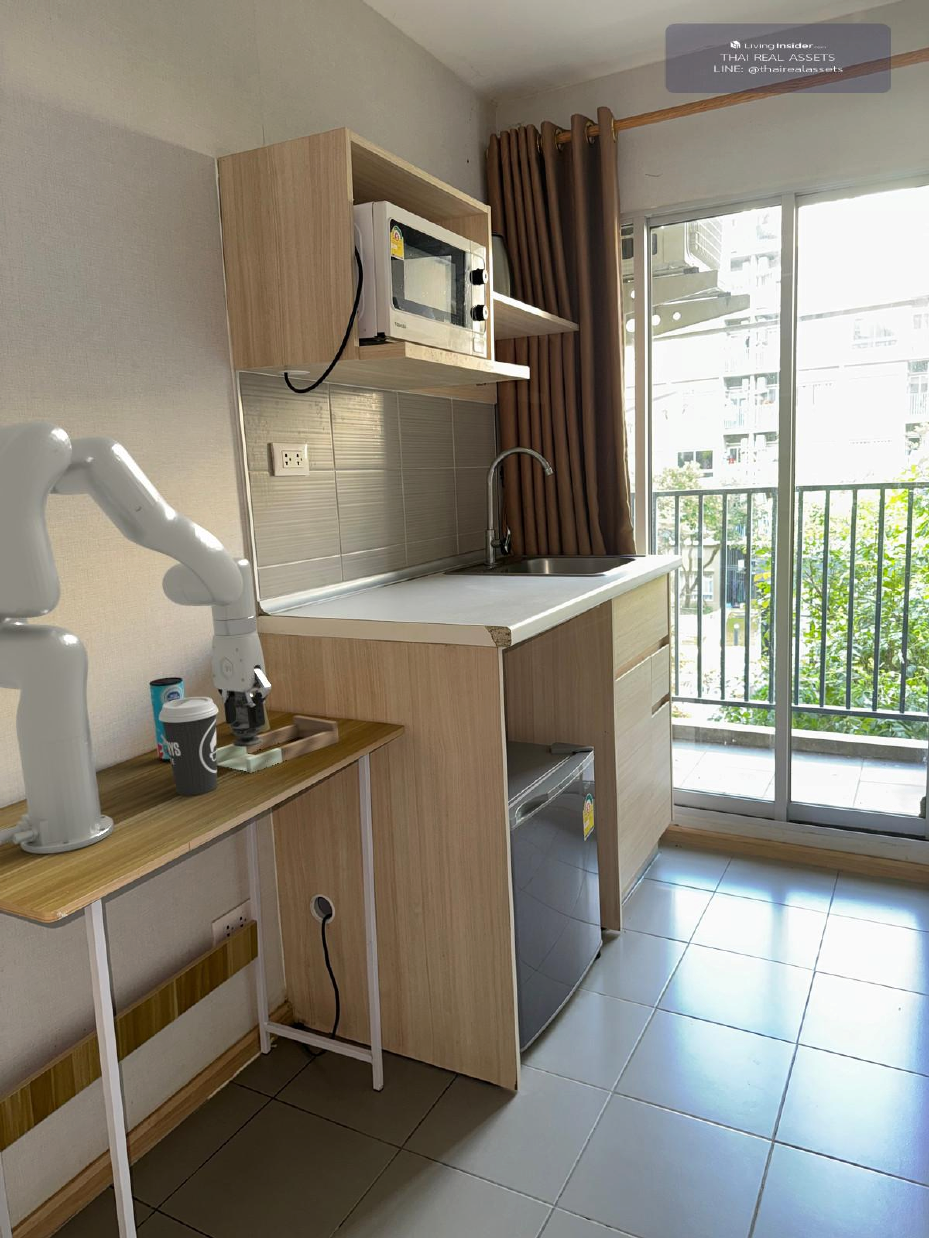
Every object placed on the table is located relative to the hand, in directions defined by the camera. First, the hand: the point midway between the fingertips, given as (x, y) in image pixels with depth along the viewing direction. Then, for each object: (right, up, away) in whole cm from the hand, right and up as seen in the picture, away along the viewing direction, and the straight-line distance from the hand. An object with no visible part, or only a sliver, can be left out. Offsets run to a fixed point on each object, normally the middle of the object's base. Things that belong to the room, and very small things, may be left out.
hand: (245, 723), depth 160 cm
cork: (-4, -4, +23) cm, 24 cm away
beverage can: (-15, -8, +7) cm, 18 cm away
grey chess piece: (0, -4, +1) cm, 4 cm away
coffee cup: (-5, -10, -12) cm, 16 cm away
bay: (+4, -6, +6) cm, 9 cm away
